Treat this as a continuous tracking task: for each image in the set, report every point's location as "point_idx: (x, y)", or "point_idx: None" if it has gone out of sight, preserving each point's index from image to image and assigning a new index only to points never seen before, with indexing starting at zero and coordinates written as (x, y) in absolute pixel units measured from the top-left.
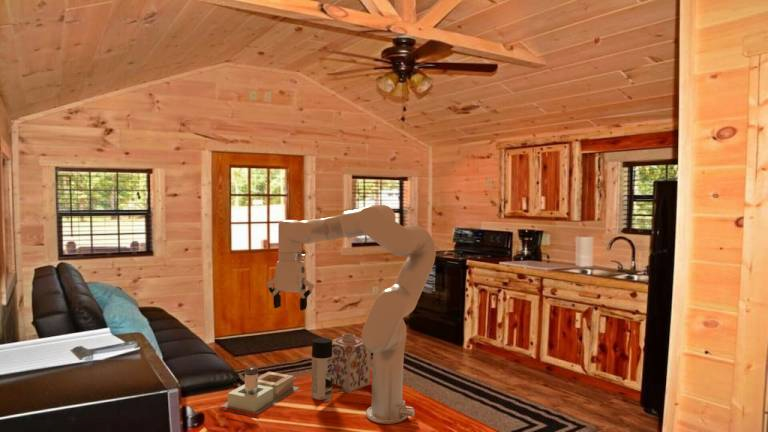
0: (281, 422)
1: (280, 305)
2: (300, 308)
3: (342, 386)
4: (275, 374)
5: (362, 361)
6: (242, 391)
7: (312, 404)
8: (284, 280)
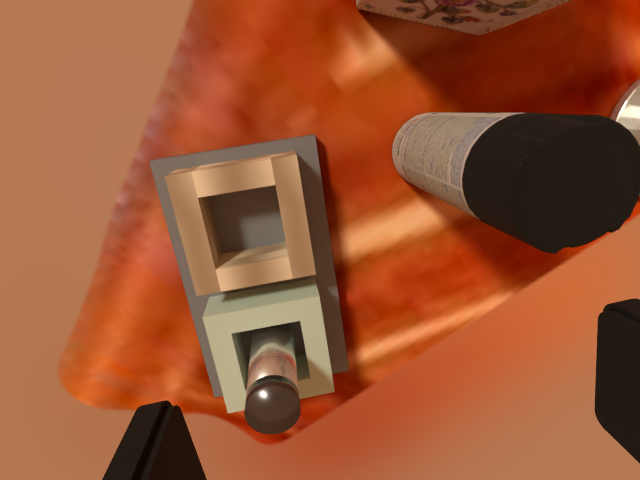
0: (414, 340)
1: (174, 415)
2: (627, 440)
3: (456, 24)
4: (219, 187)
5: None
6: (240, 361)
7: (418, 197)
8: None
